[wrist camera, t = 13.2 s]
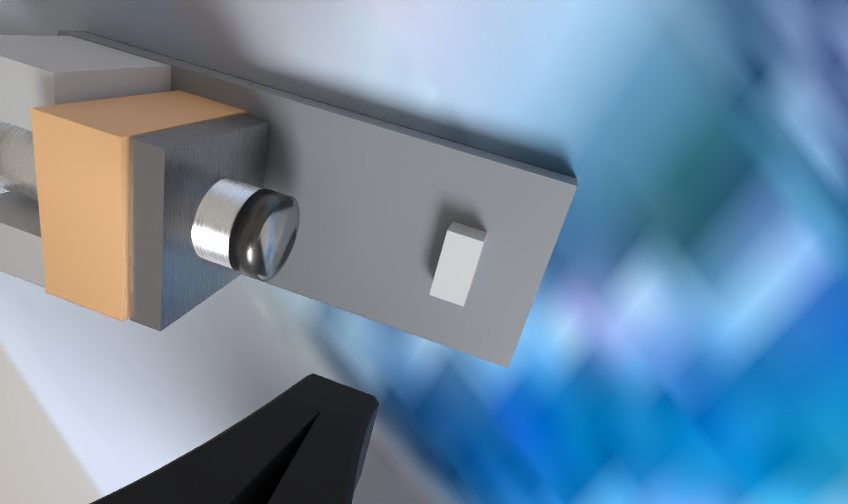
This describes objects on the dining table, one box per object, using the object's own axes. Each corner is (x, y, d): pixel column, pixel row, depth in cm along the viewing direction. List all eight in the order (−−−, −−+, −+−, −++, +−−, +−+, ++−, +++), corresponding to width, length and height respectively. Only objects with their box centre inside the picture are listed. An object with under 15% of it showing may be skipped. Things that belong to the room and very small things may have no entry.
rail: (576, 178, 17) (581, 235, 12) (510, 353, 19) (492, 458, 15) (82, 31, 19) (-89, 26, 14) (89, 205, 22) (-50, 253, 17)
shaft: (326, 138, 17) (238, 173, 12) (303, 281, 19) (222, 355, 15) (3, 39, 18) (-178, 38, 14) (18, 181, 21) (-134, 220, 16)
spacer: (173, 231, 20) (46, 292, 15) (179, 90, 18) (29, 107, 13) (234, 252, 20) (123, 321, 15) (246, 110, 17) (120, 137, 12)
